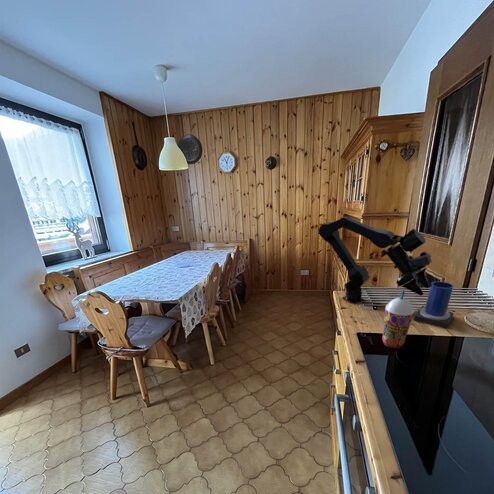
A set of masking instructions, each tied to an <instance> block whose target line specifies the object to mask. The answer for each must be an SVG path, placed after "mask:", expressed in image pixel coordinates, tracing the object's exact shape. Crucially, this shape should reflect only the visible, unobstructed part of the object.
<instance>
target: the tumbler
mask: <svg viewBox="0 0 494 494" xmlns="http://www.w3.org/2000/svg"><path fill="white" fill-rule="evenodd" d="M429 286H430V287H429V291H428V294H427V298H426V302H425V305H424V306H425V312H426V313H427V314H429V315H432V316H444V315H445V314H446V312H447V311H448V308H449V305H450V301H451V298H452V294H453V291H454V287H455V285H454V284H452V283H450V282H446V281H439V280H438V281H432V282H431V283H430V285H429Z"/></svg>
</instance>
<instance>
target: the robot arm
mask: <svg viewBox="0 0 494 494" xmlns="http://www.w3.org/2000/svg"><path fill="white" fill-rule="evenodd" d="M342 228H343V229H346V230H348V231H350V232H353V233H355V234H357V235H358V236H362V237H364V238H366V239H367V240H369V241H370V242H371V243H372V244H373V245H374V246H376V247H378V248H380V249H382V250H381V255H380V257H381V258H384V257H385V256H387V257H388V258H389V259H390V261H391V262H392V263H393V265H394V266H393V267H394V269H397V270H398V271H399V273H400V276H399V277H398V278H397V279H396V285H397V286H398V287H401V288H404V289H407V290H408V291H411V292H413V293H415V294H416V295H418V296H423V295H424V291H423V290H422V288H421V286H423V287H424V288H426V289H428V288H430V286H431V285H430V283H429V280H428V278H427V275H426V271H427V266H429V265H430V264H431V263H432V262H433V261H432V255H431V254H430V253H428V252H427V251H422V252H420V254H419V255H417V256H416V257H414V256H413V255H410V254H408V253H407V252H409V253H412V252H413V251H415V250H416V249H418V248H420V247H422V246H423V245H424V244H425V243H427V242H426V238H425V236H424V235H423V234H422V233H420V232H419V231H418V230H416V229H415V228H412V229H411V230H409V231H408V232H407V233H406V234H404V235H403V236H402V235H398V234H395V233H394V232H392V231H391V230H386V229H383V228H382V229H381V228H375V227H372V226H370V225H368V224H365V223H362V222H360V221H358V220H356V219H354V218H351V217H350V216H347V215H346V216H342V217H339V219H337V220H334V221H329V222H325V223H323V224H321V225H320V226H319V228H318V231H317V232H318V235H319V236H320V237H321V238H322V239H323V240H324V241H325V242H327V243H328V244H329V245H330V246H331V248H332V249H333V250H334V252H335V254H336V256H337V257H338V258H339V260H340V261H341V263H342V265H343V266H344V268H345V269H346V271H347V277H348V280H349V281H348V282H346V283H345V284H344V289H345V296H343V297H342V299H343V300H345V301H346V302H349V303H351V304H354V303H358V302H362V301H363V300H364V299H363V298H362V296H363V292H362V289H363V288H362V287H363V285H364V284H366V283H367V282H368V280H369V277H370V275H369V273H370V272H369V271H368V270H367V268H366V266H365V265H359V264H358V263H357V262H356V261H355V259H354V258H353V255H352V254H351V253H350V251H349V249H348V248H347V247H346V245H345V243H344V242H343V241H342V239H341V237H340V231H339V230H340V229H342ZM396 244H397V245H396ZM420 285H421V286H420Z"/></svg>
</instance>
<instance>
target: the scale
mask: <svg viewBox="0 0 494 494" xmlns="http://www.w3.org/2000/svg"><path fill="white" fill-rule="evenodd" d="M425 306H426V305H422V306H421V307H420V308H419V310H418V311H417V312H416V313H415V314H414V316H413V317H414V318H413V321H416V322H419V323H424V324H427V325H431V326H436V327H440V328H443V329H448V326H449V325H450V322H451V321H452V319H453V318H454V314H455V313H454V312H452V311H448V310H447V312H446V314H445V315H444V316H432V315H429V314H427V313H426V312H425Z"/></svg>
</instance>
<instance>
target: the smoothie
mask: <svg viewBox="0 0 494 494" xmlns="http://www.w3.org/2000/svg"><path fill="white" fill-rule="evenodd" d="M405 292H406V291H405V290H404V289H403V290H401V296H400V297H395V298H392V300H390V301H388V303H387V304H386V305H385V309H384V310H385V311H384V320H383V328H382V338H381V339H382V342H383V345H384V346H385V347H388V348H390V349H400V348H402V347H403V345H404V344H405V343H406V339H407V336H408V333H409V329H410V326H411V323H412V319H413V317H414V315H415V308H414V306H413V303H412V302H411V301H410V300H409V299H407V298H405Z"/></svg>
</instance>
